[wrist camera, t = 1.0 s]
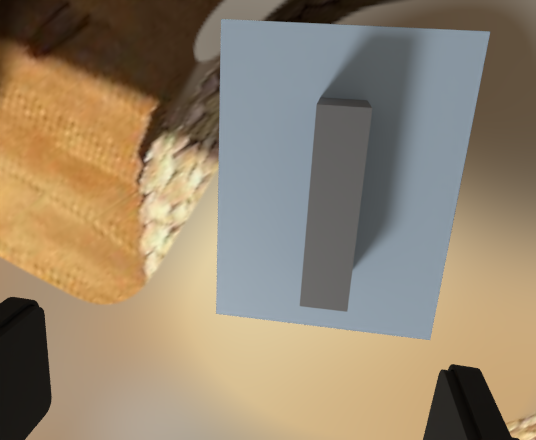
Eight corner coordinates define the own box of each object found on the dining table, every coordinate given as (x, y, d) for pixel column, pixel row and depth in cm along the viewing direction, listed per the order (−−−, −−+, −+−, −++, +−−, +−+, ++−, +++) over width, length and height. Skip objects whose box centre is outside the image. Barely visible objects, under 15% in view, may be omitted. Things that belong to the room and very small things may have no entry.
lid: (225, 20, 24) (198, 11, 20) (484, 32, 23) (521, 26, 18) (220, 305, 30) (198, 351, 25) (427, 330, 29) (444, 384, 24)
